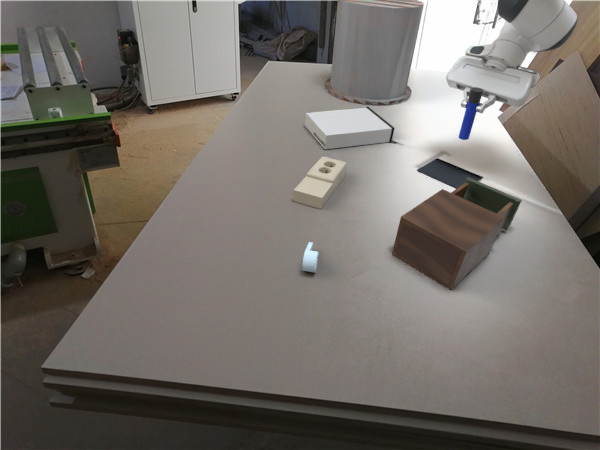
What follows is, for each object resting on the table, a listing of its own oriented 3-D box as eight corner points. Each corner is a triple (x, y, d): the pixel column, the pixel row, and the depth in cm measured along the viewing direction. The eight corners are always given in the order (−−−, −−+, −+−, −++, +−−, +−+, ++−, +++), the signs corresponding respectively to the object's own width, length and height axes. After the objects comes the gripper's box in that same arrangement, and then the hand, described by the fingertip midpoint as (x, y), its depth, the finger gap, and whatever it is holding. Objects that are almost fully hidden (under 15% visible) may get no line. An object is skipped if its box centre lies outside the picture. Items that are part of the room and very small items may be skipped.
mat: (487, 174, 112) (487, 173, 112) (463, 191, 104) (463, 190, 104) (442, 156, 120) (442, 154, 120) (416, 170, 112) (417, 169, 112)
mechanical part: (314, 276, 76) (316, 258, 74) (301, 274, 76) (303, 256, 75) (320, 255, 83) (322, 238, 81) (308, 253, 83) (310, 236, 82)
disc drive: (391, 142, 126) (394, 127, 123) (325, 150, 119) (326, 134, 116) (366, 120, 139) (368, 106, 136) (304, 126, 132) (305, 111, 129)
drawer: (466, 198, 100) (476, 171, 95) (516, 221, 93) (529, 192, 88) (426, 228, 89) (435, 199, 84) (479, 257, 82) (492, 226, 78)
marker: (471, 137, 106) (485, 89, 98) (465, 141, 105) (479, 92, 96) (461, 134, 108) (474, 86, 99) (456, 137, 106) (468, 89, 98)
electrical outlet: (294, 186, 94) (322, 155, 108) (293, 201, 97) (320, 168, 110) (322, 194, 92) (347, 161, 106) (321, 209, 95) (345, 175, 108)
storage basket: (398, 112, 147) (418, 13, 127) (311, 93, 158) (317, 0, 138) (419, 85, 172) (438, 0, 153) (342, 71, 183) (351, -10, 164)
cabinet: (431, 224, 92) (442, 188, 86) (488, 254, 85) (504, 217, 79) (391, 254, 83) (400, 216, 77) (451, 290, 76) (466, 251, 70)
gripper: (543, 80, 98) (512, 128, 98) (465, 60, 109) (437, 103, 109) (544, 64, 92) (511, 115, 92) (462, 45, 103) (433, 90, 104)
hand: (470, 109), depth 101 cm, fingers closed on marker, 3 cm apart
